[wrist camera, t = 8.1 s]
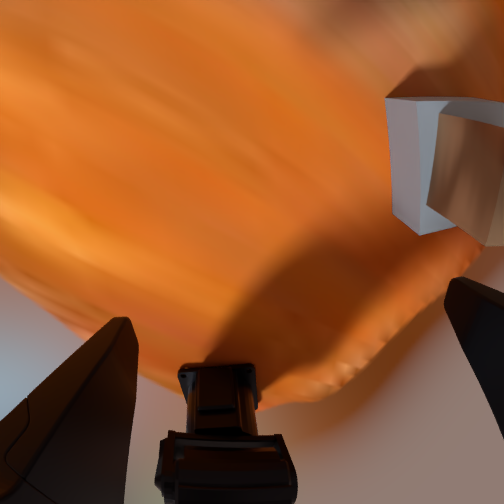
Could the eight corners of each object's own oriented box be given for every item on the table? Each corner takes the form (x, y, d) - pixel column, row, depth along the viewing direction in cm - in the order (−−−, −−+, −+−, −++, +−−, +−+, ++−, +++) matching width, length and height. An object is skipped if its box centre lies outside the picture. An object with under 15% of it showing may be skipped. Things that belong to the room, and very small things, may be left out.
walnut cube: (484, 209, 17) (540, 244, 12) (425, 205, 17) (485, 246, 12) (498, 130, 15) (561, 151, 10) (438, 113, 14) (508, 129, 9)
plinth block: (470, 195, 21) (502, 214, 18) (390, 212, 21) (419, 235, 18) (469, 97, 17) (506, 103, 14) (382, 97, 17) (415, 101, 14)
